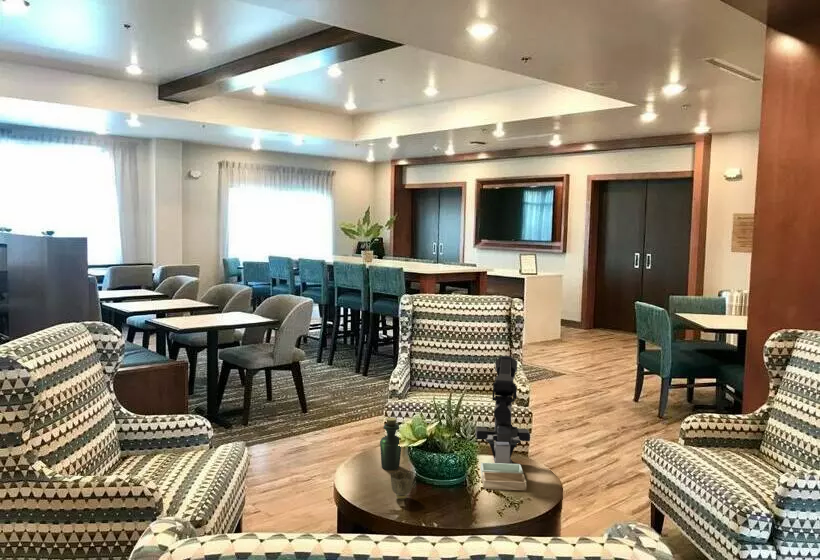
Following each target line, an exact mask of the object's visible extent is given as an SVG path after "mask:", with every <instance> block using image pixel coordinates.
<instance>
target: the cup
mask: <svg viewBox="0 0 820 560" xmlns="http://www.w3.org/2000/svg"><path fill="white" fill-rule="evenodd" d="M389 475H390V484H391V491H392V492H393V493H394V494H395V498H396V499H397V500H400V501H403V500H406V499H408V494H410V492H412V491H411V490H412V488H413V483H414V474H413V473H412V472H411V471H409V470H408V471H406V470H404V471H402V470H398V471H396V470H394V473H393V472H391V473H390V474H389Z"/></svg>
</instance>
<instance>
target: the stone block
mask: <svg viewBox="0 0 820 560" xmlns="http://www.w3.org/2000/svg"><path fill="white" fill-rule="evenodd" d="M494 448H495V458H494V457H493V460H494V459H495V462H494V463H510V445H509V442H495V446H494Z"/></svg>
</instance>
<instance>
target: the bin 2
mask: <svg viewBox="0 0 820 560" xmlns="http://www.w3.org/2000/svg"><path fill="white" fill-rule="evenodd" d="M481 481H482V488H483V489H489V490H490V489H491V490H510V491H512V490H514V491H527V486H528V485H527V484H528V483H527V479H526V477H525V474H524V473H523V474H518V473H495V472H482V475H481Z"/></svg>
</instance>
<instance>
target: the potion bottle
mask: <svg viewBox="0 0 820 560" xmlns="http://www.w3.org/2000/svg"><path fill="white" fill-rule="evenodd" d="M397 419H398V418H396V417H386V423H385V424H384V425H383V430H385V432H386V435H385V436H384V437H382V438H381V439H380V440H379V447H380V450H379V451H380V463H381V464H380V465H381V468H382V469H384V470H385V471H386V470H387V471H396V470H398V469H399V468H400V462H401V453H402V446H401V447H400V446H398V444H399V438H400V437H398V435H396V434H397V433H396V432H397V431H398V430H399V429H400V425H399V424H398V423H397Z"/></svg>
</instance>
